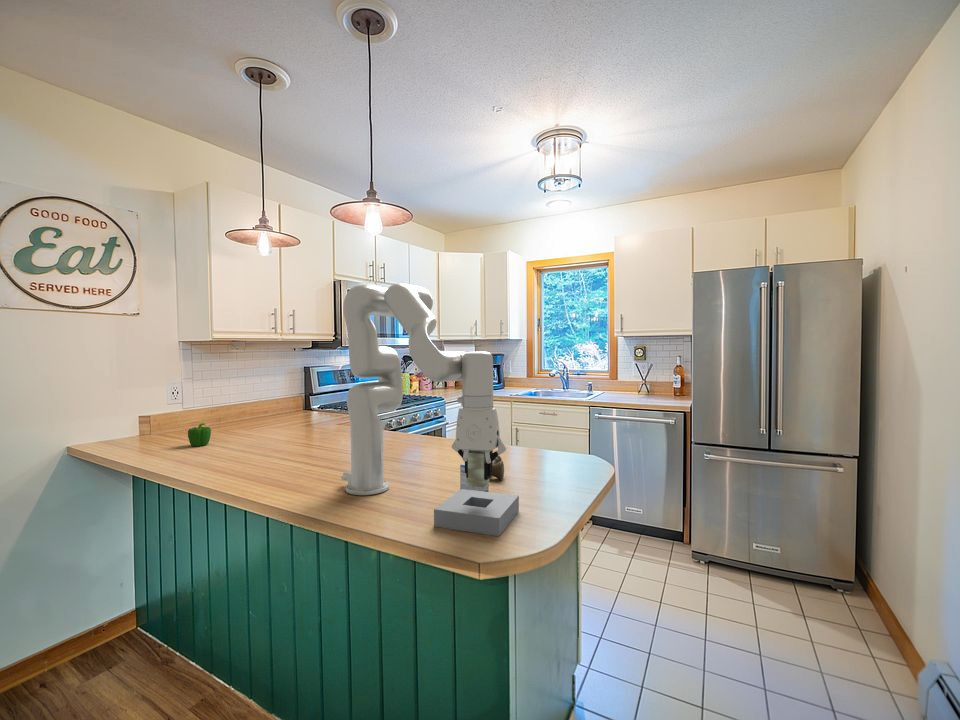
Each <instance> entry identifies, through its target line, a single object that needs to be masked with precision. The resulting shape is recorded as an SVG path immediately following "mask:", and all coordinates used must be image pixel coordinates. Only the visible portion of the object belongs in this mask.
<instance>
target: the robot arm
mask: <svg viewBox="0 0 960 720" xmlns="http://www.w3.org/2000/svg"><path fill="white" fill-rule="evenodd" d="M433 304H434V301H433V296H432V294H431V293H430V291H429V290H428V289H426V288H425V287H422V286H419V285H413V284H407V283H394V284H392V285H390V286H389V287H382V286H378V285H377V286H376V285H372V284H370V285H369V284H358V285H355V286H353V287H351V288H350V289H349V290H348V291H347V293H346V295H345V296H344V299H343V305H342V306H343V307H342V311H343V317H344V321H345V326H346V329H347V342H348V343H347V345H348V356H349V357H348V359H349V368H350V369H349V370H350V371H351V374H352V375H353V376H354V377H356V378H360V379H372V378H373V379H374V378H377V381H372V382H368V381H367V382H361V383H358V384H354V385H353V386H351V387H350V388H349V389H348V391H347V393H346V406H347V411H348V412H347V413H348V417H349V428H350V433H349V434H350V472H349V471H344V472H343V474H342V476H341V481H347V485H345V491H346V493H348V494H349V495H353V496H371V495H377V494H380V493H384V492H386V491H388V489H389V488H390V482H389V481H387V480H385V449H384V448H385V443H384V439H385V438H384V433H385V432H384V426H383V423H382V421H381V420H380V418H379V415H378V414H383V413H389V412H394V411H396V410H397V409H399V407H401V405H402V401H403V396H404V393H403V378H402V377H403V376H402V365H401V364H402V362H401V359H400V356H399V354H398V352H397V351H396V350H395V349H394V348H392V347H390V346H385V345H382V346H381V345H379V340H378V338H379V337H378V331H377V328H376V327H377V326H376V325H375V323H374V322H373V321H372V319H371V318H370V316H380V317H389V318H395V319H396V320H397V322H398V323H399V324H400V326H401V328H403V330H404V331H405V332H406V334H407V335H408V350H409V354H410V357H411V359H412V361H413V362H414V364H415V365H416V366H417V368H418V369H419V371H420V372H421V373H422V374H423V376H425V378H427V379H428V380H430V381H432V382H435V383H443V382H444V383H445V382H456V381H458V382H459V381H461V384H462V385H461V387H462V388H461V389H462V390H461V392H462V393H461V394H462V395H461V396H460V397H457V399H456V401H457V403H458V404H461V407H459V408H458V412H457V417H456V419H457V420H456V428H455V440H454V442H453V443H452V444H451V449H452V450H454V451H455V452H456V453H457V454H458V455H459V456H460V458H461V459H462V460H463V462H464V463H465V473H466V478H468V452H470V451H484V453H485V458H486V463H485V464H484V479H485V480H488V479H489V480H490V479H491V478H492V477H493V476H492V474H493V461H494V459H495V458H496V457H497V456H500V455H502V454H503V453H505V452H506V451H507V447H506V446H505V444H504V442H503V441H502V439H501V435H500V424H499V422H500V421H499V417H498V413H497V408H496V407H494V359H493V354H492V353H491V352H488V351H468V352H466V351H462V350H461V351H459V350H458V351H457V350H455V351H453V350H439V348H437V346H436V345H435V344H434V342H432V340H431V339H430V337H429V336H430V335H431V334H432V333H433V332H434V330H435V329H436V327H437V323H438V322H437V318H436V316H435V315H434V314H433V312H432V308H433ZM496 448H497V450H495V449H496ZM494 450H495V451H494Z"/></svg>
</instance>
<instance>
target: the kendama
mask: <svg viewBox="0 0 960 720" xmlns="http://www.w3.org/2000/svg"><path fill="white" fill-rule="evenodd" d="M504 474H505V465H504V461H503V459H502V458H501V456H500V455H499V456H497V457H496V458H495V459H494V461H493V474H492V476H491V477H495V478H496V479H498V480H499V479H500V480H499V481H503V480H504V476H505V475H504ZM502 479H503V480H502Z"/></svg>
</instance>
